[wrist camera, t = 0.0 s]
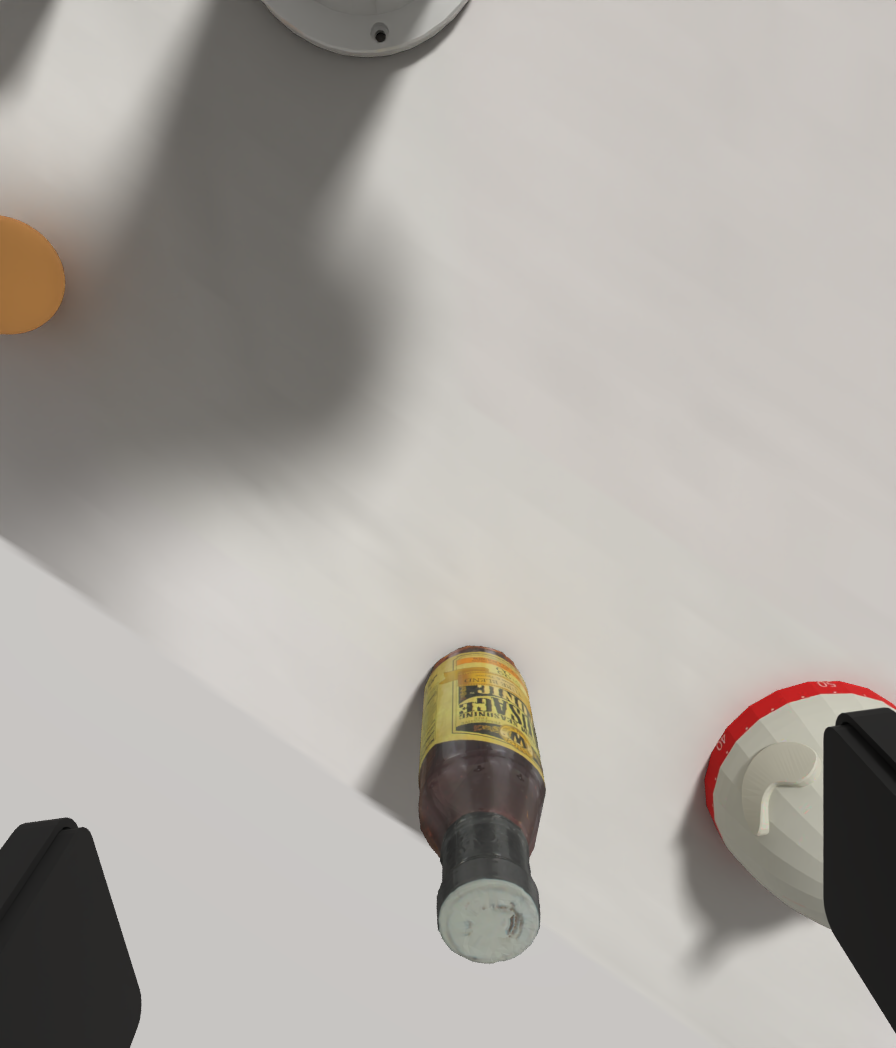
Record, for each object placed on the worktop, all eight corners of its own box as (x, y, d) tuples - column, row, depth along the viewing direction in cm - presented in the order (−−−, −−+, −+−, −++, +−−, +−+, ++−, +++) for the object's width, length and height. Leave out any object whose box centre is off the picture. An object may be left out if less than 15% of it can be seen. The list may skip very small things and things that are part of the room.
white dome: (959, 745, 53) (1159, 919, 39) (823, 896, 56) (961, 1109, 42) (794, 642, 50) (942, 787, 36) (661, 806, 54) (749, 999, 39)
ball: (-41, 227, 42) (-109, 219, 37) (66, 211, 42) (14, 202, 37) (-9, 337, 44) (-69, 346, 38) (95, 323, 44) (49, 329, 38)
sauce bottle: (544, 674, 50) (617, 914, 31) (483, 746, 52) (518, 1019, 33) (458, 616, 49) (482, 831, 30) (398, 693, 50) (384, 944, 31)
